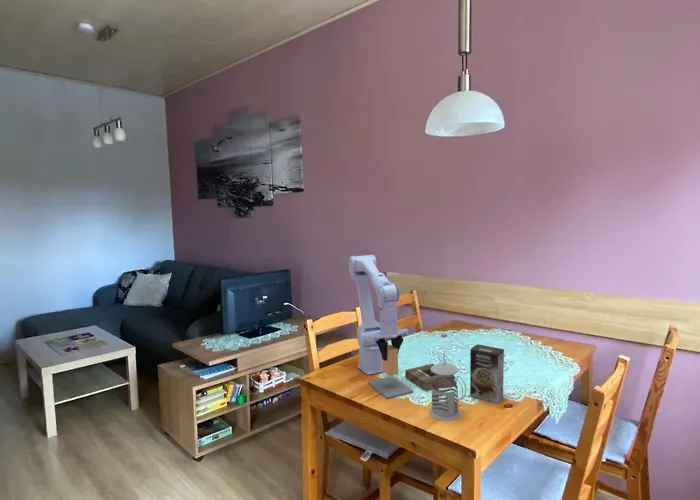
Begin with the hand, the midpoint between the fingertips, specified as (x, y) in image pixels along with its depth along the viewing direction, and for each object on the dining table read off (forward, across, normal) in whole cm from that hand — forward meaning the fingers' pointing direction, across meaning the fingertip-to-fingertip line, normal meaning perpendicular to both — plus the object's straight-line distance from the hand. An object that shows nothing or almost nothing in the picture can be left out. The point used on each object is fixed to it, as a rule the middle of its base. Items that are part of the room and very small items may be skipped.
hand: (389, 358), depth 150 cm
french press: (+11, +6, -24) cm, 27 cm away
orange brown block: (+5, 0, 0) cm, 5 cm away
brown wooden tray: (+10, +15, -2) cm, 18 cm away
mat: (+10, 0, 0) cm, 10 cm away
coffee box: (+11, +24, -21) cm, 33 cm away
